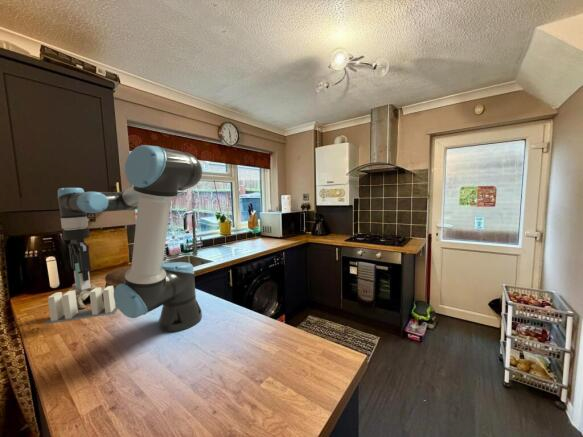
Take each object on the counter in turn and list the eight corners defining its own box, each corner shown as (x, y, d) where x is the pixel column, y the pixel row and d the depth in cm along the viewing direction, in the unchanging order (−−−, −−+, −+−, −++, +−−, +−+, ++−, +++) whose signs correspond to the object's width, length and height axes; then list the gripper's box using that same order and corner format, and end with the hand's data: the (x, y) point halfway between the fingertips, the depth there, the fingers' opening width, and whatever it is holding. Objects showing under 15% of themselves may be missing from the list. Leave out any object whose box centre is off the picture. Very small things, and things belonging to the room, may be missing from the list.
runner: (122, 305, 108) (121, 304, 108) (113, 314, 100) (113, 313, 100) (56, 314, 101) (56, 314, 101) (42, 325, 93) (41, 324, 93)
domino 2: (77, 312, 102) (75, 290, 101) (71, 318, 97) (68, 294, 96) (72, 313, 101) (69, 291, 100) (65, 319, 97) (62, 295, 96)
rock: (52, 288, 114) (90, 278, 127) (55, 307, 115) (92, 295, 128) (72, 290, 102) (112, 279, 115) (76, 311, 102) (115, 298, 115)
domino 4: (115, 307, 106) (113, 285, 105) (110, 312, 101) (108, 289, 100) (110, 307, 105) (107, 286, 104) (105, 313, 101) (102, 290, 100)
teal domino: (84, 286, 95) (81, 262, 94) (89, 289, 92) (86, 264, 91) (77, 288, 93) (74, 263, 92) (82, 290, 91) (79, 265, 90)
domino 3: (103, 308, 105) (100, 287, 104) (98, 314, 100) (95, 291, 99) (97, 309, 104) (95, 287, 103) (92, 315, 99) (89, 292, 98)
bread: (137, 283, 137) (135, 261, 136) (169, 292, 122) (167, 267, 121) (102, 294, 123) (100, 269, 121) (134, 306, 107) (131, 278, 106)
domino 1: (64, 314, 100) (61, 291, 100) (57, 320, 96) (53, 296, 95) (58, 315, 100) (55, 292, 99) (51, 321, 95) (47, 297, 94)
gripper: (97, 228, 89) (104, 287, 91) (79, 226, 98) (86, 280, 101) (71, 231, 83) (79, 295, 85) (55, 228, 92) (62, 286, 94)
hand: (83, 287), depth 93 cm, fingers closed on teal domino, 5 cm apart
